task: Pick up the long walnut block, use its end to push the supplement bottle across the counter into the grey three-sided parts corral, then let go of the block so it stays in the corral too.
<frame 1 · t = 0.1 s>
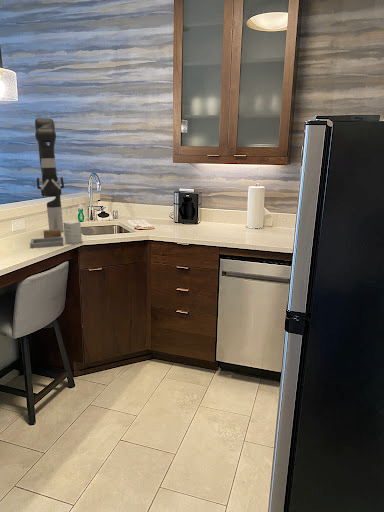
hand: (51, 196, 225), 29 cm above the worktop, tool pointing down, fingers open, 8 cm apart
corral: (47, 244, 237), on the worktop
supplement box: (73, 242, 241), on the worktop
walnut block: (53, 239, 249), on the worktop
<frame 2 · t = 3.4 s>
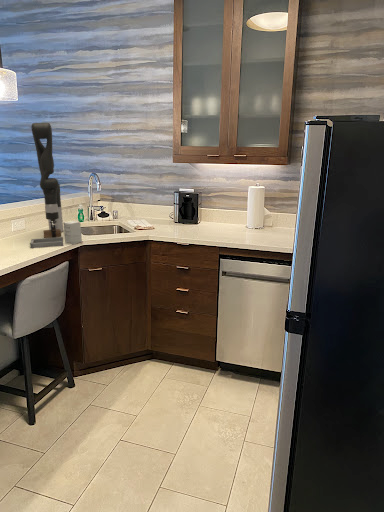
hand: (54, 238, 249), 1 cm above the worktop, tool pointing down, fingers closed on walnut block, 4 cm apart
walnut block: (52, 239, 249), on the worktop, touching gripper
everything else where it was.
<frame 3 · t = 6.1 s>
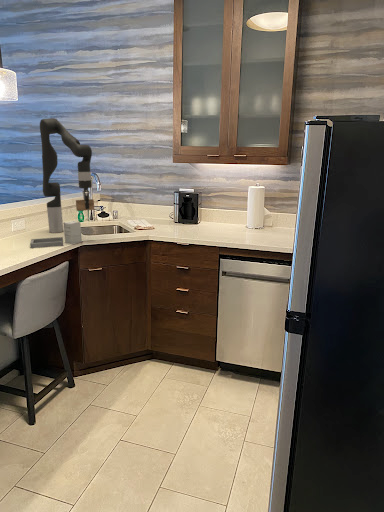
hand: (87, 208, 240), 20 cm above the worktop, tool pointing down, fingers closed on walnut block, 4 cm apart
walnut block: (85, 209, 240), point 19 cm above the worktop, touching gripper
everything else where it was.
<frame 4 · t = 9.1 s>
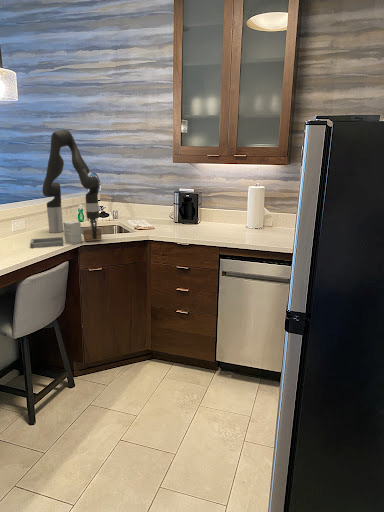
hand: (94, 237, 245), 2 cm above the worktop, tool pointing down, fingers closed on walnut block, 4 cm apart
walnut block: (92, 239, 245), point 1 cm above the worktop, touching gripper
everything else where it was.
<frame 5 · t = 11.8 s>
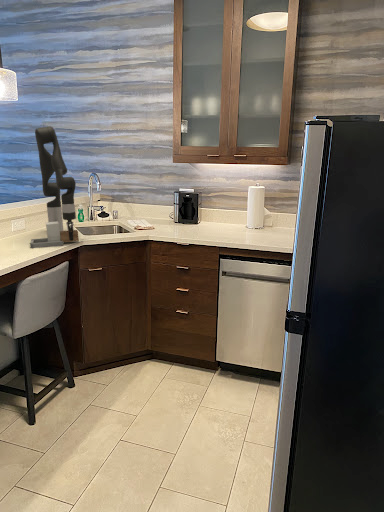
hand: (71, 239, 240), 2 cm above the worktop, tool pointing down, fingers closed on walnut block, 4 cm apart
supplement box: (54, 243, 239), on the worktop
walnut block: (69, 240, 240), point 1 cm above the worktop, touching gripper
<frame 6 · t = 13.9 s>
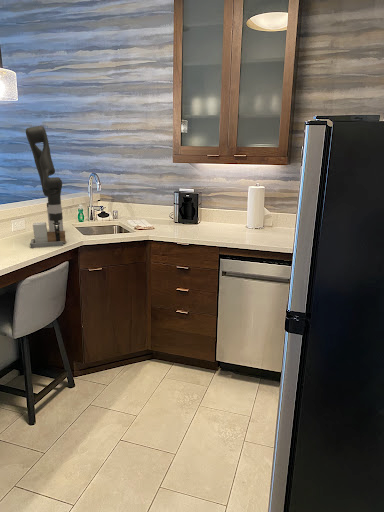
hand: (58, 240, 238), 2 cm above the worktop, tool pointing down, fingers closed on walnut block, 4 cm apart
supplement box: (41, 244, 238), on the worktop, touching walnut block
walnut block: (57, 241, 238), point 1 cm above the worktop, touching gripper, supplement box
when the fingers open (2 cm above the worktop, at t = 15.0 s): walnut block drops 1 cm, on the worktop.
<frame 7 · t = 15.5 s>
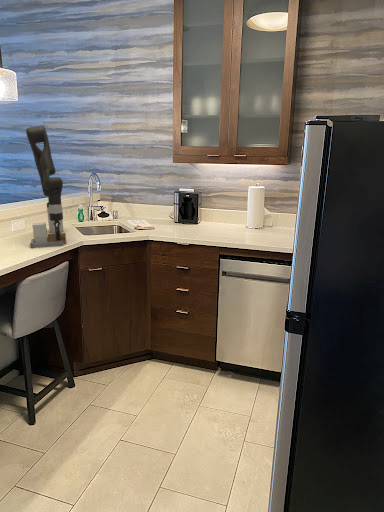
hand: (58, 238, 238), 3 cm above the worktop, tool pointing down, fingers open, 8 cm apart
supplement box: (41, 244, 237), on the worktop
walnut block: (57, 243, 239), on the worktop
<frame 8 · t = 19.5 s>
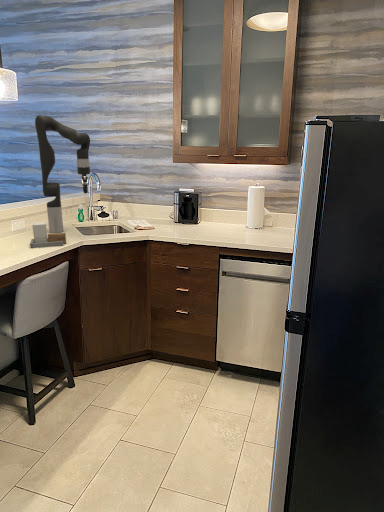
hand: (85, 192, 252), 28 cm above the worktop, tool pointing down, fingers open, 8 cm apart
nothing on the worktop moved.
at the end: supplement box inside the target area (2.6 cm from its centre), on the worktop; supplement box tilted 0°; walnut block inside the target area (0.7 cm from its centre), on the worktop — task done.
